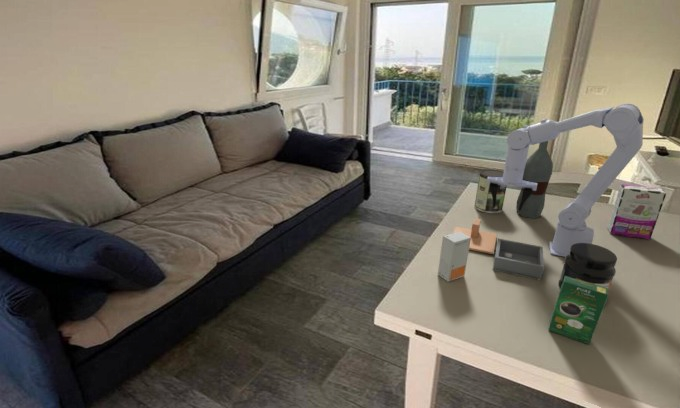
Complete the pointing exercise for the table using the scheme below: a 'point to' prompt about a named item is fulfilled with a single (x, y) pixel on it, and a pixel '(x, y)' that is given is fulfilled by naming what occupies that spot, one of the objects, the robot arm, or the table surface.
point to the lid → (479, 238)
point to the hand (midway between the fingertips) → (506, 207)
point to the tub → (519, 259)
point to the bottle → (536, 181)
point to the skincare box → (454, 256)
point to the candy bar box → (636, 211)
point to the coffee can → (489, 192)
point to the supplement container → (589, 264)
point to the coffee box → (578, 309)
